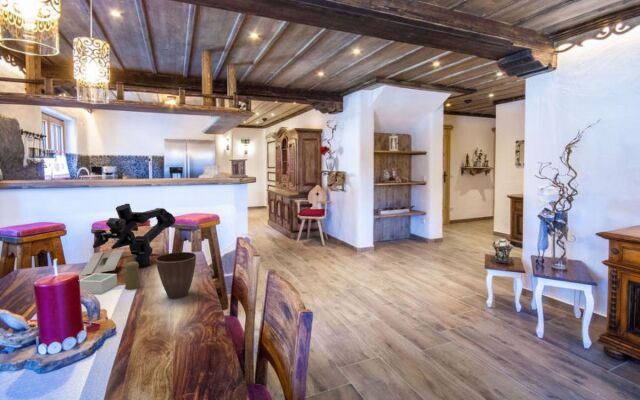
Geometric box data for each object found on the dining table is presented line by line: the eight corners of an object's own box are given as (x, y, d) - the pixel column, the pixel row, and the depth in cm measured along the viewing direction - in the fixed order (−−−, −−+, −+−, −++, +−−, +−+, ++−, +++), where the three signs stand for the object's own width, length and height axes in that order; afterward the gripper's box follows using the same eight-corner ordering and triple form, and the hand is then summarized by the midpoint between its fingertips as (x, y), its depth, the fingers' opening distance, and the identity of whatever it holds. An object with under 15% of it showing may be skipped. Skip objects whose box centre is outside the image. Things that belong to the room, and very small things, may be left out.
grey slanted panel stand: (123, 279, 170) (130, 253, 180) (114, 270, 163) (122, 244, 173) (89, 284, 169) (98, 258, 179) (79, 275, 163) (88, 249, 172)
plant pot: (158, 305, 129) (156, 263, 127) (156, 292, 142) (154, 254, 141) (199, 298, 136) (198, 259, 134) (194, 286, 149) (193, 250, 147)
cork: (128, 284, 151) (127, 260, 149) (143, 284, 151) (142, 260, 150) (122, 289, 145) (120, 264, 143) (137, 289, 145) (136, 264, 144)
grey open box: (94, 284, 150) (94, 273, 150) (117, 285, 150) (116, 273, 150) (77, 293, 141) (77, 281, 140) (101, 293, 140) (101, 281, 140)
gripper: (102, 213, 163) (76, 231, 150) (137, 214, 160) (115, 233, 147) (110, 232, 169) (86, 252, 155) (144, 234, 166) (123, 254, 152)
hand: (102, 247), depth 152 cm, fingers open, 9 cm apart
